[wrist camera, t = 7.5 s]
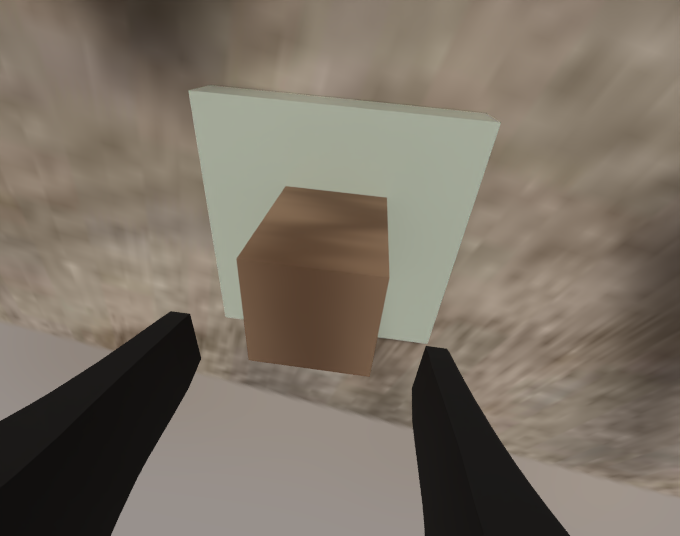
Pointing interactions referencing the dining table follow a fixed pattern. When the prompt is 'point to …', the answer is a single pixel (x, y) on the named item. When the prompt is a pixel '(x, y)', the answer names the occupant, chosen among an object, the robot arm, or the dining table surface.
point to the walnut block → (316, 281)
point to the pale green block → (345, 181)
